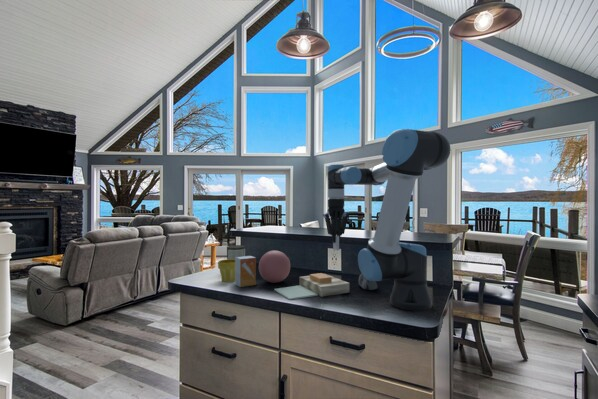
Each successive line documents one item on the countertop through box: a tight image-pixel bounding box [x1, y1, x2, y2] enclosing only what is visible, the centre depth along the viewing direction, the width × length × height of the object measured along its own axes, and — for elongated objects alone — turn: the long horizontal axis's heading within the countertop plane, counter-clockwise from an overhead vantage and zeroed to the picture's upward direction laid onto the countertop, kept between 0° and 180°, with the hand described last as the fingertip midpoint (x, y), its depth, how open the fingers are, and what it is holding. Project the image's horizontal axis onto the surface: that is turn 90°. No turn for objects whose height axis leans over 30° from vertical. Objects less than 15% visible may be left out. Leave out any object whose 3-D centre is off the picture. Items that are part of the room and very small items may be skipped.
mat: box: [273, 284, 319, 301], centre depth 138 cm, size 16×13×1 cm
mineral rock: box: [358, 273, 378, 291], centre depth 148 cm, size 13×11×10 cm
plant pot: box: [217, 258, 235, 283], centre depth 160 cm, size 10×10×10 cm
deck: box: [299, 273, 350, 298], centre depth 144 cm, size 20×14×4 cm
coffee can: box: [226, 244, 246, 259], centre depth 181 cm, size 10×10×14 cm
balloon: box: [258, 249, 291, 284], centre depth 158 cm, size 15×20×15 cm
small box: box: [234, 255, 257, 288], centre depth 152 cm, size 8×6×13 cm
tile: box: [309, 272, 333, 283], centre depth 144 cm, size 9×6×2 cm, turn 27°
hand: (336, 249), depth 148 cm, fingers closed
